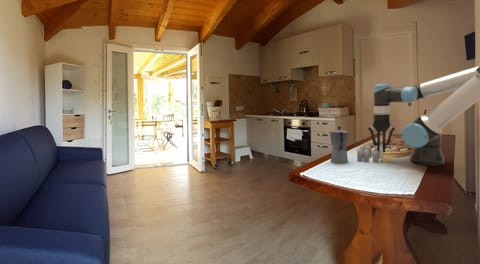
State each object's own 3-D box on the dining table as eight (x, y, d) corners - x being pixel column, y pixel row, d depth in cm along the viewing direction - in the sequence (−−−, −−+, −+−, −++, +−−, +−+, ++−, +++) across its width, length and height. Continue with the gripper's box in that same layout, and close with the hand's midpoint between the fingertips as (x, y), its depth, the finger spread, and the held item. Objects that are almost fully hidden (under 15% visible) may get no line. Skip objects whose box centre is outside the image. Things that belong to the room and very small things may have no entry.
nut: (392, 162, 155) (392, 156, 155) (392, 164, 151) (392, 158, 151) (382, 161, 158) (383, 156, 157) (382, 163, 154) (382, 157, 153)
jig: (381, 159, 162) (381, 147, 161) (379, 165, 151) (379, 151, 150) (360, 158, 167) (360, 146, 166) (356, 163, 156) (357, 150, 156)
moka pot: (345, 160, 164) (345, 124, 161) (353, 167, 149) (353, 128, 146) (327, 160, 165) (327, 125, 162) (333, 167, 150) (333, 129, 147)
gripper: (396, 113, 153) (395, 157, 156) (368, 113, 159) (368, 156, 162) (395, 114, 146) (394, 160, 149) (367, 114, 153) (367, 158, 156)
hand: (381, 158), depth 156 cm, fingers closed
